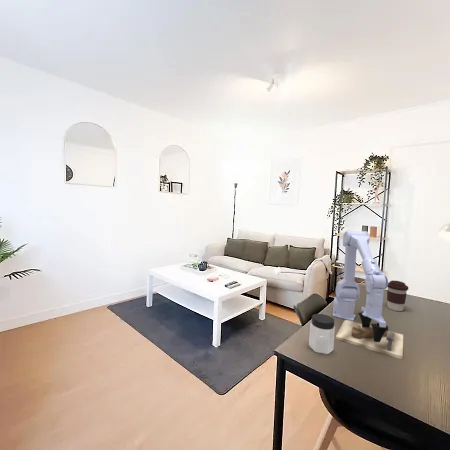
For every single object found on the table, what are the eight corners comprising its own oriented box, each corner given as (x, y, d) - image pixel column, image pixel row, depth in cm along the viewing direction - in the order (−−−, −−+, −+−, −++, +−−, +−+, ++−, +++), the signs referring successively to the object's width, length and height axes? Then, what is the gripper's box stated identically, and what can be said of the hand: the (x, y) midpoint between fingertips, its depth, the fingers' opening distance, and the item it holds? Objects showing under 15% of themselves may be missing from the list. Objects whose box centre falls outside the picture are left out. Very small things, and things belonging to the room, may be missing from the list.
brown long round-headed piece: (355, 338, 106) (355, 331, 106) (349, 334, 109) (350, 327, 109) (388, 337, 108) (389, 330, 108) (382, 332, 112) (383, 326, 111)
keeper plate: (335, 338, 108) (336, 325, 107) (344, 321, 124) (345, 309, 124) (402, 359, 95) (403, 343, 94) (403, 337, 111) (404, 324, 111)
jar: (308, 351, 98) (310, 320, 97) (308, 340, 106) (310, 312, 105) (334, 356, 95) (336, 324, 94) (332, 345, 103) (334, 315, 102)
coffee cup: (405, 308, 144) (408, 281, 143) (406, 314, 136) (409, 286, 135) (384, 303, 150) (387, 278, 148) (384, 309, 141) (386, 282, 140)
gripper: (355, 296, 112) (352, 326, 113) (374, 310, 97) (370, 345, 99) (371, 297, 112) (369, 327, 113) (393, 311, 97) (389, 346, 98)
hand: (371, 335), depth 106 cm, fingers open, 7 cm apart
